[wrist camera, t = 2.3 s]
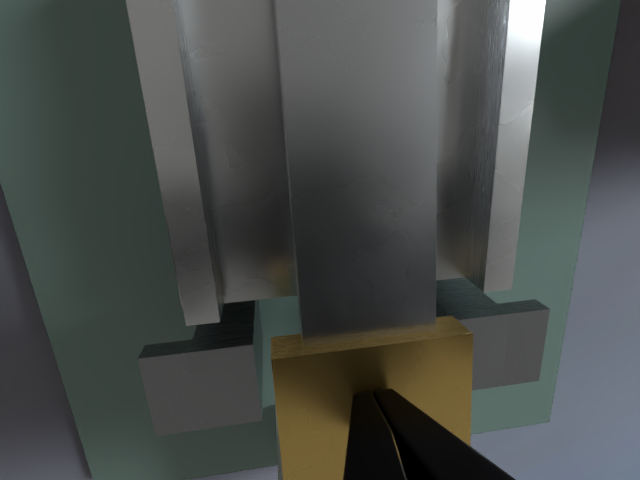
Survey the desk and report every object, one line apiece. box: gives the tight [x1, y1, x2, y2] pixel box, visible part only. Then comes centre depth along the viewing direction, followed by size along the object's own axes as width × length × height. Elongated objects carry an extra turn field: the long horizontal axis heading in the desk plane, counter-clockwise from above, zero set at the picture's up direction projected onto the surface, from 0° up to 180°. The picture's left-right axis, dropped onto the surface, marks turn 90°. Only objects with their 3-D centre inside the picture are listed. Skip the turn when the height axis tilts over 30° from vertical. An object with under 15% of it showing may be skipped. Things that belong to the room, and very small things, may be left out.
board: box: [0, 0, 621, 480], centre depth 13 cm, size 20×26×1 cm
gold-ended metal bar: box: [271, 0, 473, 480], centre depth 8 cm, size 4×18×2 cm, turn 3°
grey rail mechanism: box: [126, 0, 550, 436], centre depth 9 cm, size 11×18×6 cm, turn 3°
